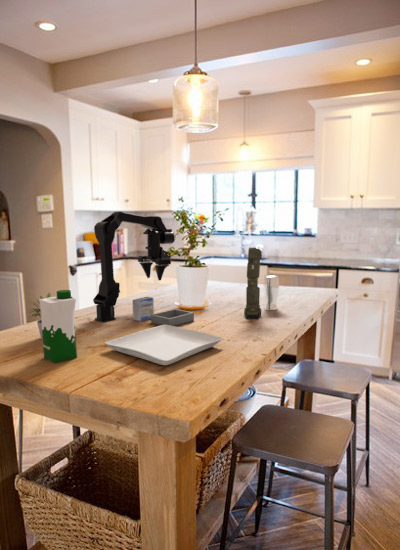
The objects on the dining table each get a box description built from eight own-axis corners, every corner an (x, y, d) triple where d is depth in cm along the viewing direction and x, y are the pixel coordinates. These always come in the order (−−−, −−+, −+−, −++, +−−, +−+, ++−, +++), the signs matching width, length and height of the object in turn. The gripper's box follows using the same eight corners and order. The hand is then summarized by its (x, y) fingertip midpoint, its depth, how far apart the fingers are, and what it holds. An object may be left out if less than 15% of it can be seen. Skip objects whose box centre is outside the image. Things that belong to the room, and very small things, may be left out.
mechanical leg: (260, 319, 162) (262, 245, 164) (242, 318, 163) (244, 245, 166) (261, 319, 175) (263, 250, 178) (245, 318, 177) (247, 250, 179)
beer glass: (278, 307, 188) (278, 275, 185) (279, 310, 181) (280, 277, 179) (262, 307, 188) (263, 275, 186) (263, 310, 181) (264, 277, 179)
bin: (169, 328, 153) (169, 319, 153) (150, 323, 160) (150, 314, 160) (193, 321, 163) (193, 312, 163) (175, 316, 170) (175, 308, 170)
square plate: (164, 333, 148) (163, 323, 147) (225, 348, 131) (225, 336, 130) (103, 352, 127) (103, 340, 126) (166, 373, 110) (166, 359, 109)
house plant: (26, 333, 147) (23, 289, 144) (66, 329, 151) (64, 286, 149) (24, 345, 133) (21, 296, 131) (68, 340, 138) (66, 293, 136)
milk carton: (81, 357, 121) (78, 291, 119) (52, 365, 115) (48, 296, 112) (67, 350, 128) (64, 288, 125) (39, 357, 121) (35, 292, 118)
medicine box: (140, 321, 163) (139, 300, 162) (132, 320, 165) (132, 299, 164) (154, 317, 169) (153, 297, 168) (146, 316, 172) (146, 296, 170)
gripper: (180, 244, 179) (180, 280, 181) (157, 243, 193) (157, 275, 195) (159, 245, 172) (159, 282, 174) (137, 243, 186) (137, 277, 188)
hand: (154, 279), depth 183 cm, fingers open, 9 cm apart
